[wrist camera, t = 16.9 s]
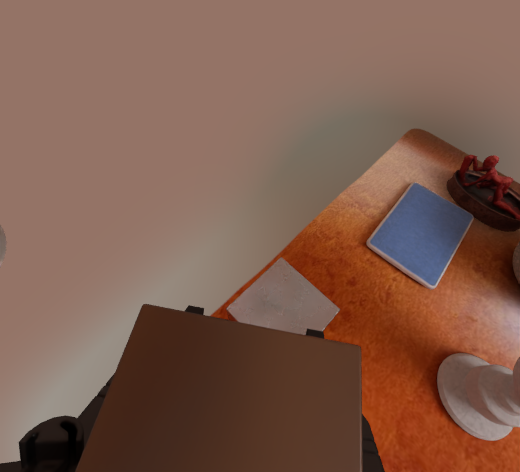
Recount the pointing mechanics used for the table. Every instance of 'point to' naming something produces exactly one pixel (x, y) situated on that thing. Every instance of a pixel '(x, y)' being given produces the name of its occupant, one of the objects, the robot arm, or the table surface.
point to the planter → (517, 262)
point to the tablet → (421, 234)
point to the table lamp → (480, 395)
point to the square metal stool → (283, 302)
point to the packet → (227, 400)
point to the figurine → (486, 194)
